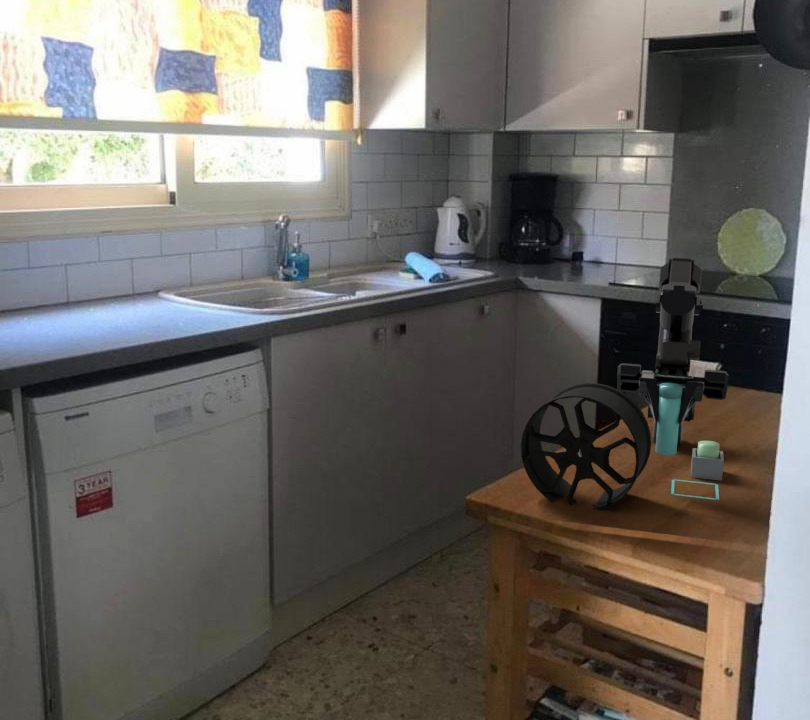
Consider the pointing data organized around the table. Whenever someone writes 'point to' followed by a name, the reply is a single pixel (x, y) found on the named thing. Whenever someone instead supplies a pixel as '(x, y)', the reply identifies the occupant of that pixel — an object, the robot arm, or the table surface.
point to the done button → (708, 449)
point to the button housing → (707, 466)
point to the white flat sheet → (695, 496)
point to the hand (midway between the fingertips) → (668, 423)
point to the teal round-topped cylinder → (668, 418)
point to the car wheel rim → (584, 445)
